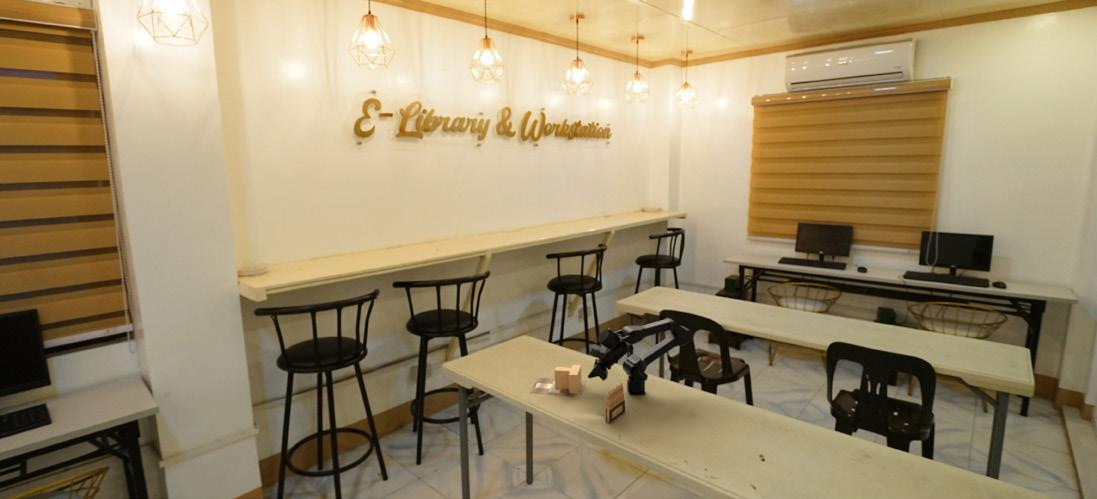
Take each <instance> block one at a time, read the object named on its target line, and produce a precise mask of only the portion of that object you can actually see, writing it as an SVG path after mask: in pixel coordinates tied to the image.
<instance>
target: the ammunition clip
mask: <svg viewBox="0 0 1097 499" xmlns="http://www.w3.org/2000/svg"><path fill="white" fill-rule="evenodd" d="M606 397H607V398H606V409H605V423H607V424H612V423H613V422H614V421H616V420H617V419H618V418H620V417H621V416H623V414H625V413H626V400H625V392H624V385H623V382H621V383H620V384H618V386H615V387H613V389H610V391H608V392H607V395H606Z"/></svg>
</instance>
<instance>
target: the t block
mask: <svg viewBox="0 0 1097 499" xmlns="http://www.w3.org/2000/svg"><path fill="white" fill-rule="evenodd" d="M554 379H555V388H556V389H569V393H574V394H578V391H579V388H580V386H581V381H582V365H581V364H572V366H571V367H564V366H563V367H562V366H555V369H554Z"/></svg>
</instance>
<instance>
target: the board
mask: <svg viewBox="0 0 1097 499" xmlns="http://www.w3.org/2000/svg"><path fill="white" fill-rule="evenodd" d="M586 382H587V381H586V380H581V386H580V388H579V391H578V394H574V393H569V389H556V388H555V378H552V377H551V378H549V377H537V379H536V381H535V383H534V384H533V386H532V388H531V389H530V391H529V394H537V395H538V394H539V395H552V396H563V397H565V396H566V397H573V398H574V397H575V398H576V397H577V398H580V397H581V396H582V393H583V392H584V388H585V386H586Z"/></svg>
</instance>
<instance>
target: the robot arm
mask: <svg viewBox="0 0 1097 499" xmlns="http://www.w3.org/2000/svg"><path fill="white" fill-rule="evenodd" d="M668 331H669V334H668V336H667V337H666V338H664V339H663V340H662V341H660V342H658V343H657V344H655V345H654V346H652V347H651V348H649V349H648V350H646V351H645V352H643V353H642V354H640V355H637V354H636V353H634V345H635V344H637V343H639V342H642V341H643V340H644V339H645V338H646V337H651V336H654V335H657V334H661V333H664V332H668ZM693 336H694V332H693V331H692V330H691V329H689V328H687V327H685V326H683V325H680V324H679V323H677V322H676V321H675V320H673V319H672V318H669V317H666V318H664V319H662V320H656V321H655V322H651V323H648V324H644V325H626V326H623V327H622V329H620V330H616V331H615V332H614V331H613V330H612V329H611V328H609V327H607V328H606V329H603V330H602V331H601V332H600V333H599V334H598V336H597V342H598V343H600V344H601V345H597V344H596V343H593V344H592V345H591V348H590V350H589V352H588V354H589V355H590V356H593V357H594V358H595V360H594V363H593V368H592V369H591V371H590V372H589V373H588V375H587V378H588V379H589V380H590V379H593V378H598V377H599V378H600V379H601V380H602V381H605V380H607V379H608V376H609V371H610V370H611V369H612V367H613V366H614V365H615V364H616V365H617V364H618V363H619V361H620V360H621V359H622V358H623V357H624V356H625V355H627V354H628V353H630V354H631V355H630V356H628V357H626V358H625V360H624V361H623V362H622V370H623V371H624V372H625V373H626V375H627V376H628V377H627V379H626V390H627V392H628V393H629V395H630V396H637V395H641V396H642V395H646V394H647V392H646V381H647V380H648V378H649V375H648V374H647V373H646V370H647V368H648V366H649V365H651V363H653V362H655V361H657V360H658V359H660V358H661V357H663V355H665V354H666V353H668V352H669V351H671V350H672V349H674V348H676V347H680V346H686V345H687V344H689V343H691V342H692V341H693ZM601 346H603V347H605V348H606V349H605V348H603V347H601Z"/></svg>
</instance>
